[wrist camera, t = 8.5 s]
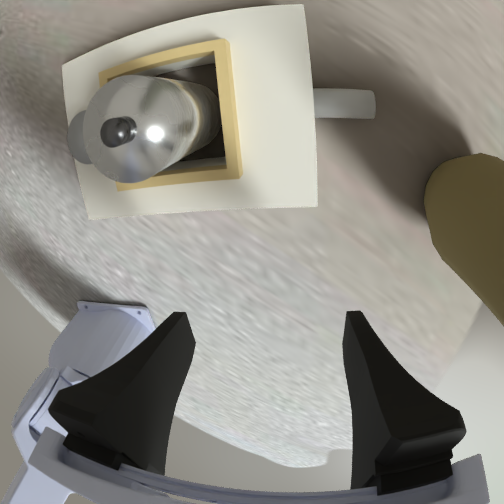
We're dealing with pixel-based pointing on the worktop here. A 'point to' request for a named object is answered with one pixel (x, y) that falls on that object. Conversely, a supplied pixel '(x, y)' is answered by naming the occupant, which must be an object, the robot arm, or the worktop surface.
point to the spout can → (147, 125)
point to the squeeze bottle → (470, 223)
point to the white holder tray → (232, 113)
